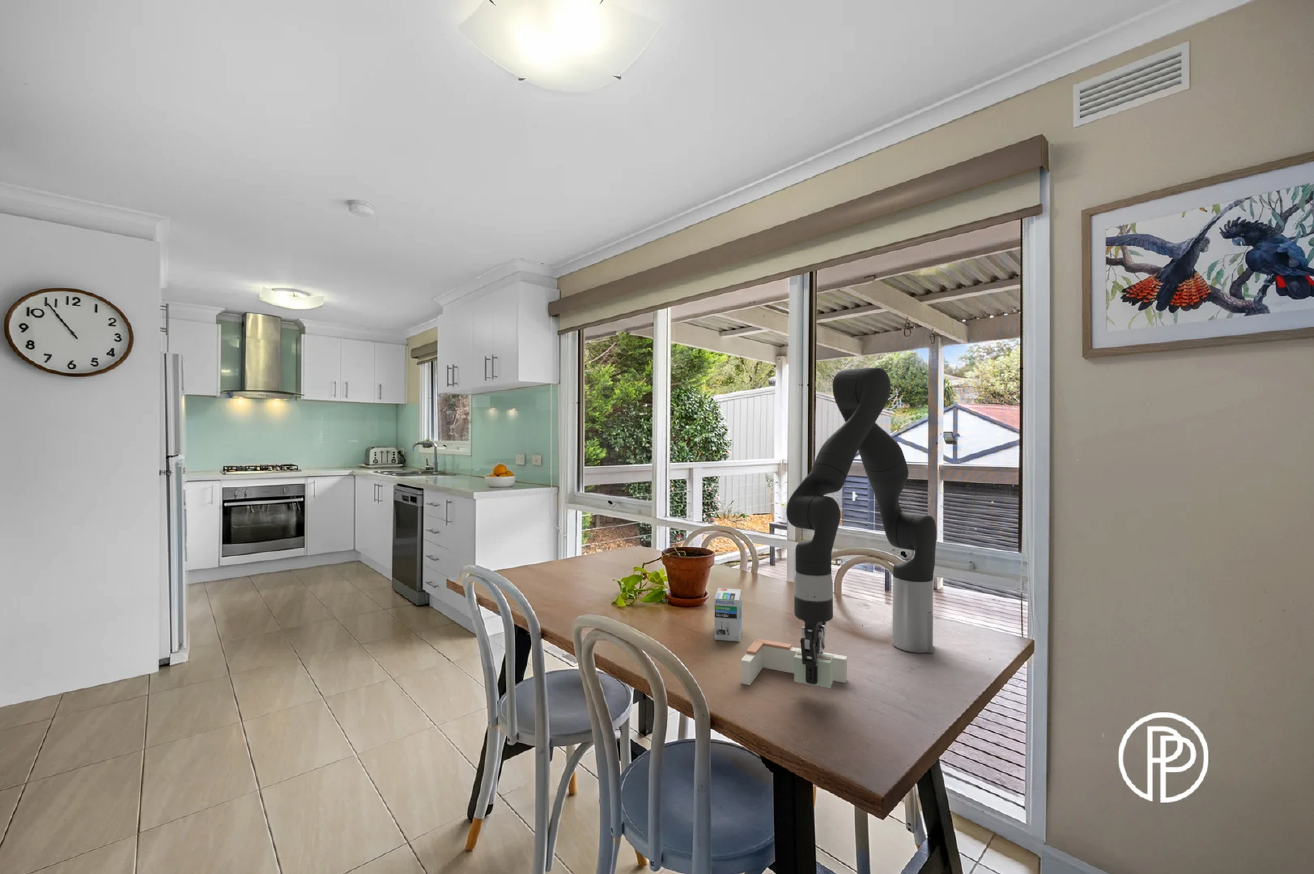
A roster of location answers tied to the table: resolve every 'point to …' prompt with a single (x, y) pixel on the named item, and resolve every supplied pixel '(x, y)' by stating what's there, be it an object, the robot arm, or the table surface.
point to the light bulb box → (728, 614)
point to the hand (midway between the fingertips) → (813, 677)
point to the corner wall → (780, 660)
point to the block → (823, 670)
